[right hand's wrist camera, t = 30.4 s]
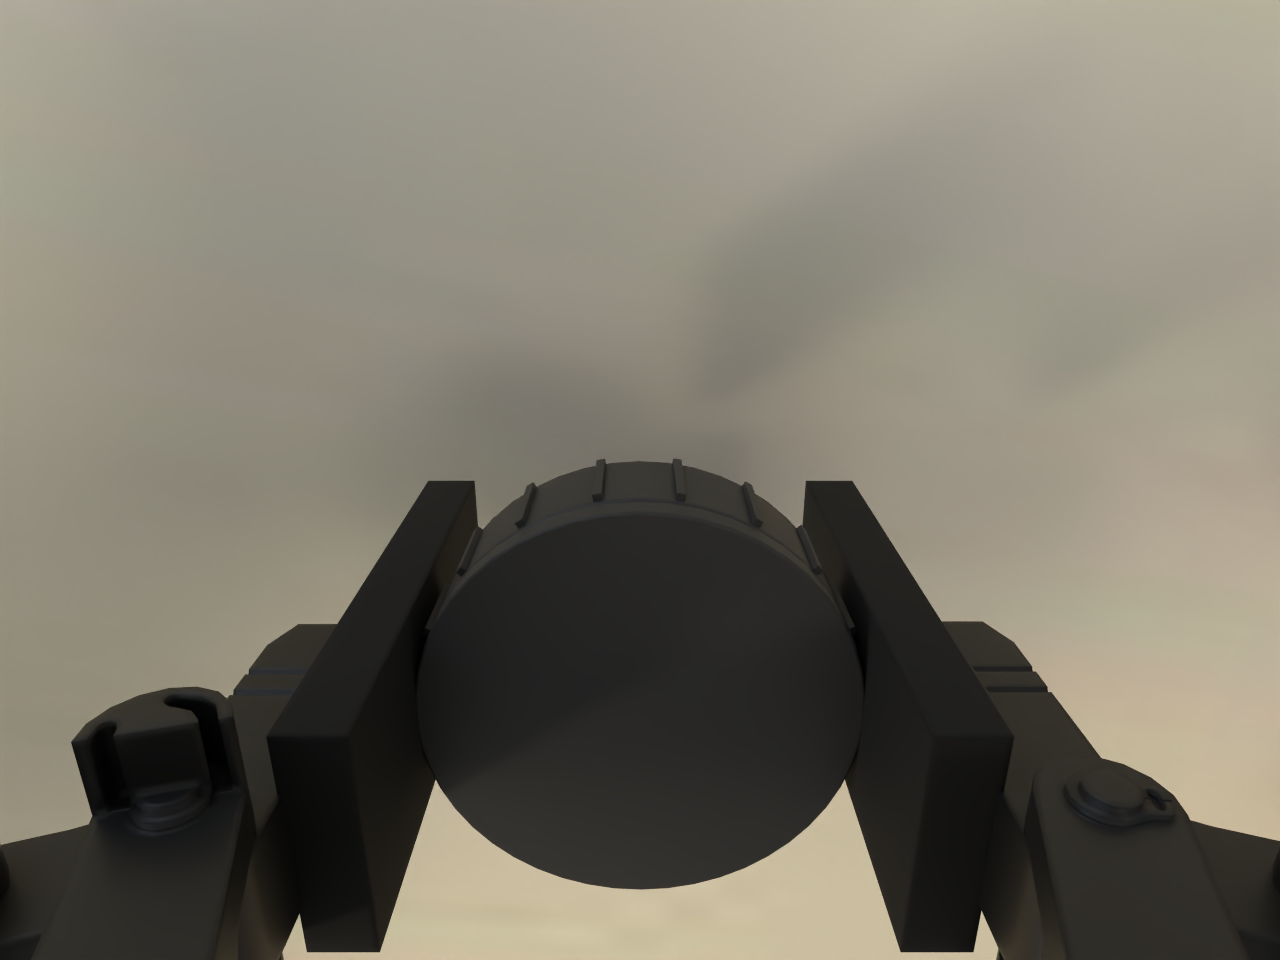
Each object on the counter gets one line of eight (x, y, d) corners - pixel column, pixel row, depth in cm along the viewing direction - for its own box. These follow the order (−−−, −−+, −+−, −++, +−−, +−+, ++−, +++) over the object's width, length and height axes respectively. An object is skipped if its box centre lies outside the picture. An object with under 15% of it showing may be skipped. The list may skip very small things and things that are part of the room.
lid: (719, 375, 11) (733, 416, 9) (904, 704, 12) (944, 787, 11) (358, 577, 12) (313, 645, 10) (577, 854, 13) (568, 951, 12)
